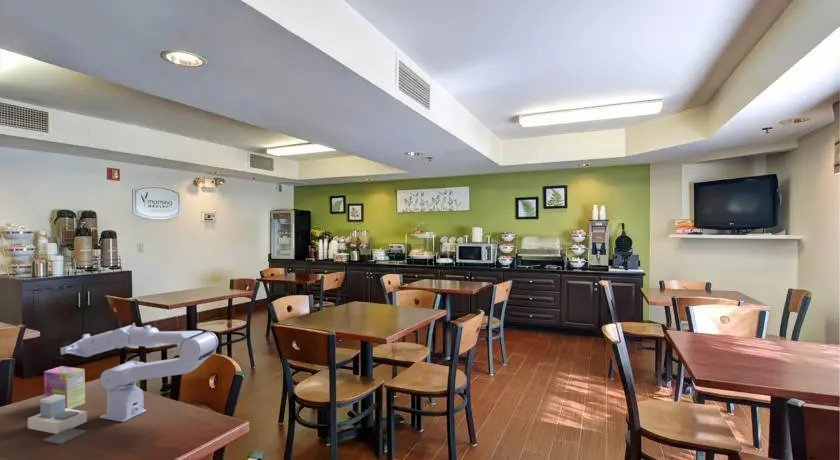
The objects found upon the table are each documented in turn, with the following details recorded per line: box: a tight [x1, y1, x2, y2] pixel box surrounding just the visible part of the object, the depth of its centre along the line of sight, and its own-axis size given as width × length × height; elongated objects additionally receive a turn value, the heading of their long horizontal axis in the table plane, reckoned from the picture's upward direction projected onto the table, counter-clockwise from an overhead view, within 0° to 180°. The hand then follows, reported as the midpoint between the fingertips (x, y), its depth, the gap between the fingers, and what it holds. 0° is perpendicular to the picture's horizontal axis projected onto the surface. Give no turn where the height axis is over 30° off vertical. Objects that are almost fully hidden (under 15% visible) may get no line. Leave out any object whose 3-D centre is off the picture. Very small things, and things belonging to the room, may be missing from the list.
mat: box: [42, 427, 88, 445], centre depth 119 cm, size 6×7×1 cm
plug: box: [39, 394, 65, 419], centre depth 126 cm, size 4×4×8 cm
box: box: [43, 365, 86, 409], centre depth 139 cm, size 10×6×12 cm, turn 73°
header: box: [27, 408, 88, 435], centre depth 125 cm, size 12×8×4 cm, turn 75°
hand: (63, 353), depth 135 cm, fingers open, 7 cm apart
